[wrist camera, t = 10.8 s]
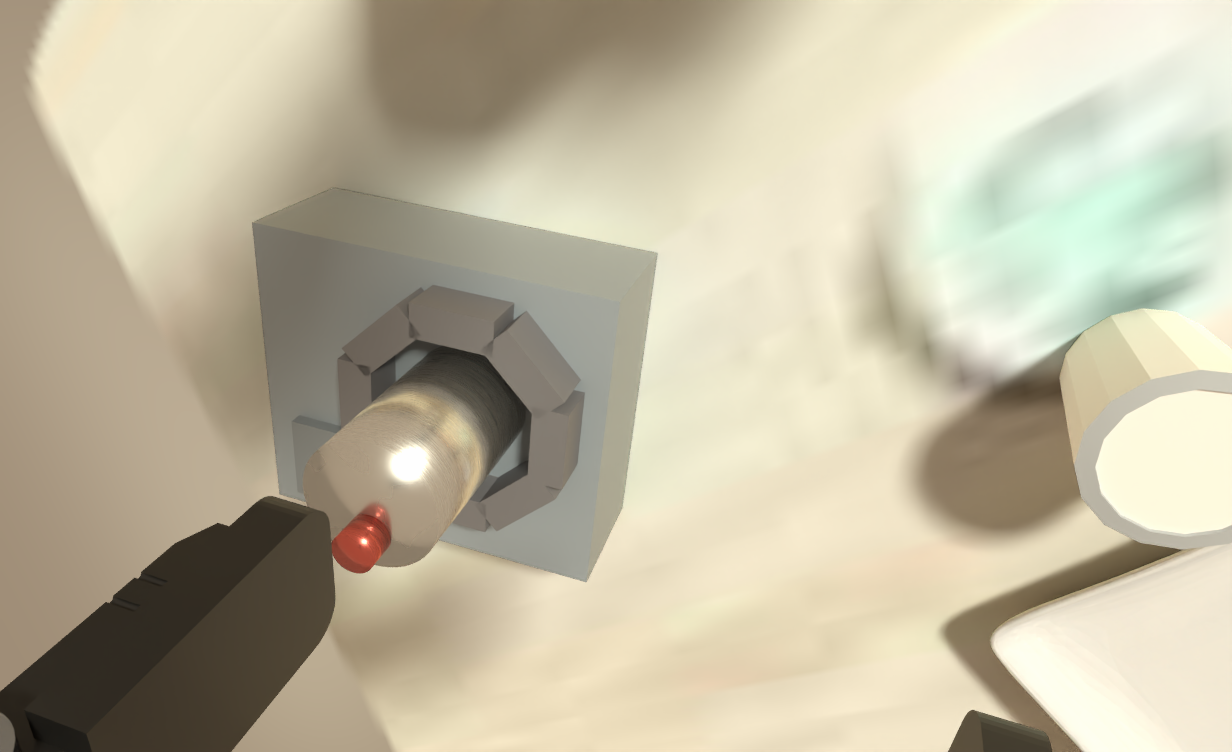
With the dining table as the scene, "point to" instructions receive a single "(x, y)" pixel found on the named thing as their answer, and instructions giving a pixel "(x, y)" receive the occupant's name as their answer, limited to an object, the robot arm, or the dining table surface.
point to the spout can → (413, 459)
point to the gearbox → (471, 321)
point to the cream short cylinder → (1152, 427)
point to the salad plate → (1134, 657)
